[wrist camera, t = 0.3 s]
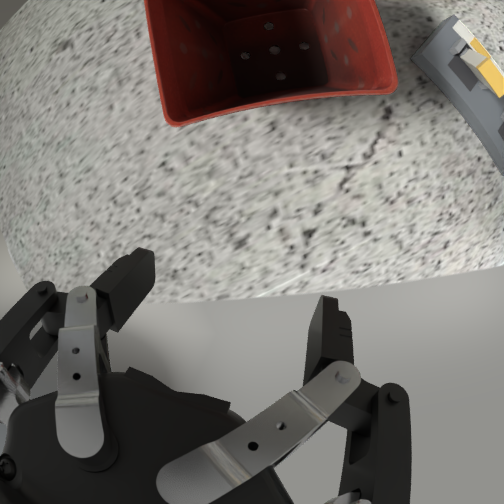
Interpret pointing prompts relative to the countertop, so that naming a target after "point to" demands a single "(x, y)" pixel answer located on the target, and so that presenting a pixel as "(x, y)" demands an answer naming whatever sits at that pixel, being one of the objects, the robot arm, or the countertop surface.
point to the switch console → (464, 83)
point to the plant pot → (264, 54)
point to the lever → (484, 70)
